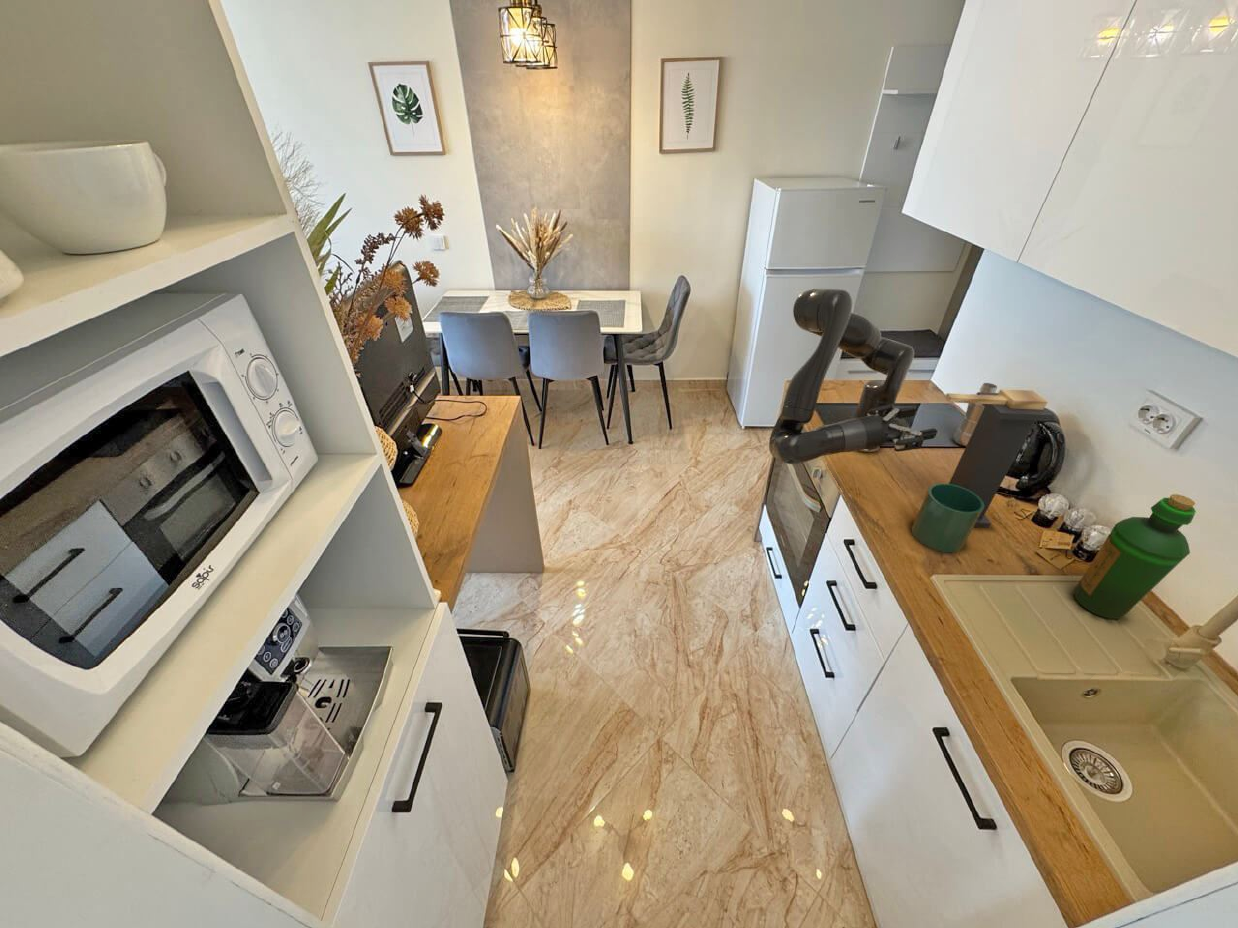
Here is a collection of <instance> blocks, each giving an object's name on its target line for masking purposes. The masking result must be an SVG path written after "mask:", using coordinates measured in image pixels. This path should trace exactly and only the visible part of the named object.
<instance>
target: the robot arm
mask: <svg viewBox="0 0 1238 928" xmlns="http://www.w3.org/2000/svg"><path fill="white" fill-rule="evenodd" d="M852 310H853V298H852V295H851V294H850V292H849V291H847V290H846V289H839V288H837V289H836V288H812V289H807V290H805V291H803V292H801V293H800V294H799V295H798V296H797V298H796V299H795V301H794V304H793V308H792V315H793V318H794V322H795V323H796V325H797V326H798V327H799V328H800V329H801V330H802V331H804V332H805V331H806V332H808V333H812V334H814V335H816V336H819V337H820V340H819V342H818V345H817V347H816V348H815V350H814V352H812V354H811V355H810V356H809V358H807V360H806V361H805V362H804V364H803V365H802V366H801V367H800V368H798V370H797V371H796V372H795V374H794V375H793V376H792V378H791V380H790V381H789V384H788V386H787V389H786V392H785V395H784V399H783V404H782V408H781V412H780V414H779V416H778V418H777V420H776V422H775V424H774V426H773V429H772V431H771V433H770V436H769V441H768V450H769V453H770V454H771V456H772V457H773V458H775V459H776V460H778V461H780V462H782V463H784V464H787V465H800V464H804V463H807V462H811V461H813V460H815V459H819V458H820V457H824V456H832V455H836V454H840V453H850V452H861V453H868V454H869V453H875V452H878V451H879V449H880V447H881V446H882V445H883V444H886V443H889V444H892V445H893V446H894V447H893V451H894V452H898V453H899V452H905V451H912V450H917V449H918V450H919V449H921V448H922V447H923V443H924V441H927V440H928V441H929V440H933V439H935V438H936V436H937V433H938V429H937V428H935V427H934V428H933V427H932V428H928V429H924V430H920V431H918V430H914V429H913V430H912V428H911V427H908V426H907V427H906V426H903V425H902V424H901V423H900V422H899V420H900V419H906V418H910V417H911V418H912V417H914V416H915V415H916V412H917V409H916V408H915V406H913V407H912V406H911V407H904V408H897V407H895V408H894V406H895V404H896V400H897V397H898V395H899V393H900V391H901V390H902V387H903V385H904V382H905V380H906V377H907V375H908V373H909V371H910V368H911V366H912V364H913V361H914V357H915V349H914V348H913V346H911V345H909V344H905V343H903V342H899V341H896V340H893V339H890V338H886V337H883V336H882V333H881V330H880V328H879V327H878V326H877V325H876V323H874V322H873V321H872V320H870V319H869V318H867V317H866V316H864V315H861V314H860V313H856V312H852ZM838 349H840V350H841V351H843V352H844V353H846V354H847V355H850V356H851V357H854V358H857V359H860V360H861V362H862V363H863V364H864V365H865V366H866V367H867V368H869V369H870V370H872V371H874V372H877V373H880V374H882V375H884V376H886V377H885V379H874V380H868V381H867V382H865V384H864V385H863V388H862V391H861V395H860V398H859V401H858V405H857V407H856V411H855V415H854V418H851V419H850V418H849V419H845V420H842V421H837V422H835V423H829V424H825V425H820V426H816V427H813V428H812V429H811V430H809V431H804V432H802V431H803V429H804V427H805V426H806V425H808V424H809V423H810V422H811V421H812V419H813V417H814V414H815V409H816V406H817V403H818V399H819V395H820V392H821V389H822V386H823V383H824V381H825V378H826V375H827V372H828V371H829V368H830V366H831V364H832V361H833V359H834V357H835V355H836V353H837V351H838ZM898 419H899V420H898ZM903 433H905V434H904V436H902V435H903ZM913 436H914V437H913Z"/></svg>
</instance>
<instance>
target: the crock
mask: <svg viewBox="0 0 1238 928" xmlns="http://www.w3.org/2000/svg"><path fill="white" fill-rule="evenodd" d="M983 508H984V503H983V501H982V500H981V498H980V497H979V496H978V495H976V494H975V493H974V492H972V491H970V490H968V489H966V488H963V487H961V486H958V485H953V484H949V482H947V483H945V482H938V483H935V484H932V485H931V486H929V488H928V490H927V492H926V494H925V497H924V498H923V500H922V503H921V505H920V508H919V510H918V512H917V515H916V516H915V518H914V521H913V523H912V526H911V534H912V535H913V536H914V538H915V539H916V540H917V541H918V542H919V543H920V544H922V545H924V546H925V547H926V548H927V547H928V548H930V549H931V550H934V551H937V552H940V553H941V552H942V553H956V552H959V551H961V550H962V549H963V547H964V546H965V544H966V542H967V540H968V539H969V536H970V535H971V533H972V531H973V529H974V528H975V527H974V525H975V523H976V522H977V520H978V518H979V516H980V514H981V512H982V510H983Z"/></svg>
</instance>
